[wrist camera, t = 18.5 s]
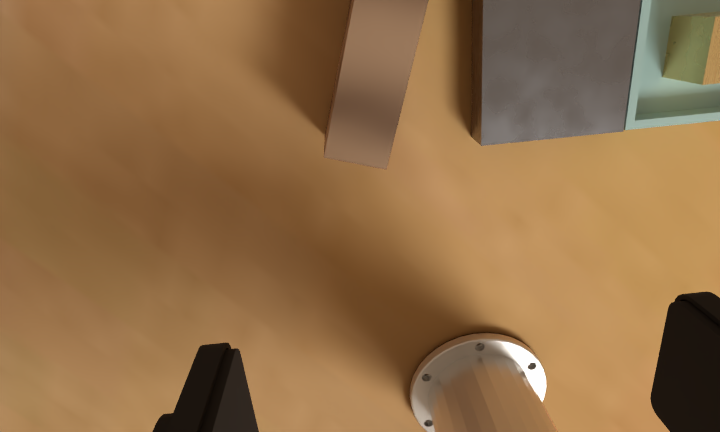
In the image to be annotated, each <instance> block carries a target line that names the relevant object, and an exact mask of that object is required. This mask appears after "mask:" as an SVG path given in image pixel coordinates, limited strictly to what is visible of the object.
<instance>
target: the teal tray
mask: <svg viewBox="0 0 720 432" xmlns="http://www.w3.org/2000/svg"><path fill="white" fill-rule="evenodd" d="M719 11H720V0H641V2H640V9H639V17H638V24H637V32H636V39H635V47H634V54H633V62H632V69H631V77H630V84H629V92H628V100H627V107H626V115H625V122H624V130H630V129H640V128H650V127H660V126H670V125H680V124H690V123H699V122H709V121H719V120H720V83H717V84H707V85H700V84H695V83H690V82H685V81H680V80H675V79H670V78H664V77H662V75H663V69H664V63H665V56H666V50H667V43H668V37H669V31H670V24H671V18H672V16H679V15H689V14H699V13H709V12H719Z"/></svg>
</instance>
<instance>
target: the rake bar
mask: <svg viewBox="0 0 720 432" xmlns="http://www.w3.org/2000/svg"><path fill="white" fill-rule="evenodd" d="M427 4H428V0H351V2H350V7H349V12H348V18H347V23H346V28H345V33H344V39H343V44H342V49H341V54H340V60H339V65H338V70H337V75H336V81H335V86H334V91H333V96H332V101H331V107H330V112H329V117H328V122H327V128H326V133H325V146H324V158H329V159H334V160H339V161H345V162H350V163H355V164H360V165H365V166H370V167H376V168H381V169H387V165H388V161H389V157H390V153H391V149H392V145H393V141H394V137H395V133H396V129H397V125H398V121H399V117H400V113H401V109H402V105H403V101H404V97H405V93H406V89H407V85H408V80H409V76H410V72H411V68H412V64H413V60H414V56H415V52H416V48H417V44H418V40H419V36H420V32H421V28H422V24H423V20H424V16H425V12H426V8H427Z"/></svg>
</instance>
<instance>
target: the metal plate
mask: <svg viewBox="0 0 720 432" xmlns="http://www.w3.org/2000/svg"><path fill="white" fill-rule="evenodd" d="M640 2H641V0H472V138H473V139H474V140H475V141H477V142H478V143H479V144H480V145H481V146H483V145H493V144H503V143H513V142H523V141H533V140H543V139H553V138H563V137H573V136H583V135H592V134H602V133H612V132H622V131H623V130H624V122H625V115H626V107H627V100H628V92H629V84H630V77H631V69H632V62H633V54H634V47H635V39H636V32H637V24H638V17H639V9H640Z"/></svg>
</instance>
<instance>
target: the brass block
mask: <svg viewBox="0 0 720 432" xmlns="http://www.w3.org/2000/svg"><path fill="white" fill-rule="evenodd" d="M662 77H664V78H670V79H675V80H680V81H685V82H690V83H695V84H700V85H707V84H717V83H720V11H719V12H709V13H699V14H689V15H679V16H672V18H671V24H670V31H669V37H668V43H667V50H666V56H665V63H664V69H663V75H662Z"/></svg>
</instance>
